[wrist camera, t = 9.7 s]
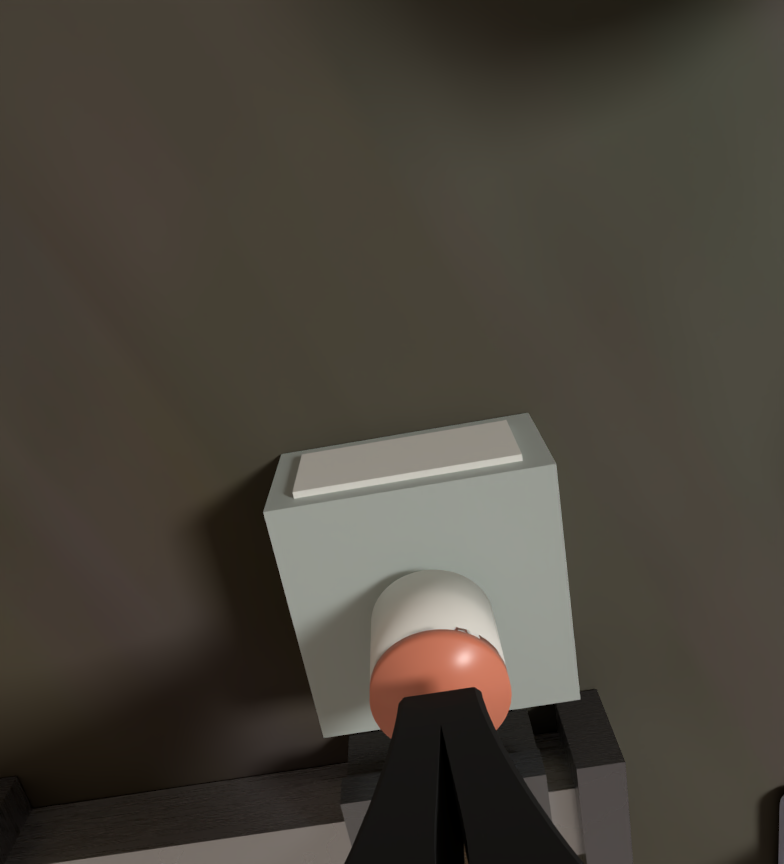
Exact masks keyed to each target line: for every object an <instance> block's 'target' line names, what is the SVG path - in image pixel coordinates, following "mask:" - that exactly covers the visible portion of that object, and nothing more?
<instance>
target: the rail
mask: <svg viewBox="0 0 784 864" xmlns="http://www.w3.org/2000/svg"><path fill="white" fill-rule="evenodd" d="M554 704H555V712H556V720H557V729H558V732H552V733H545V734H538V735H534V739H535V742H536V746H537V749H539V750H540V753H541V757H542V761H543V765H544V769H545V773H546V778H547V786H548V793H549V801H550V809H551V816H552V822H553V824H554V825H555V827H556V828H557V829H558V831H559V832H560V833H561V835H562V836H563V837H564V839H565V840H566V841H567V843H568V844H569V845H570V847H571V848H572V849H573V850H574V852H575V853H576V854H577V855H578V857H579V858H580V859H581V860H582V862H583V863H584V864H633V855H632V842H631V829H630V817H629V804H628V791H627V778H626V766H625V760H624V758H623V755H622V753H621V750H620V748H619V745H618V743H617V740H616V738H615V735H614V732H613V730H612V727H611V725H610V722H609V720H608V717H607V715H606V712H605V710H604V707H603V705H602V702H601V700H600V697H599V694H598V692H597V689H595V690H589V691H582V692H580V700H574V701H568V702H561V703H554ZM347 766H348V763H342V764H335V765H328V766H321V767H314V768H308V769H301V770H294V771H287V772H281V773H274V774H267V775H260V776H253V777H247V778H240V779H233V780H226V781H219V782H213V783H206V784H199V785H192V786H186V787H179V788H172V789H165V790H158V791H152V792H145V793H138V794H131V795H124V796H118V797H111V798H104V799H97V800H91V801H84V802H77V803H70V804H63V805H57V806H50V807H43V808H36V809H32V807H31V805H30V803H29V800H28V798H27V796H26V794H25V792H24V790H23V788H22V786H21V784H20V781H19V779H18V777H17V776H15V777H8V778H1V779H0V864H344V863H345V861H346V859H347V857H348V854H349V852H350V850H351V848H352V846H351V843H350V839H349V835H348V832H347V828H346V824H345V821H344V817H343V813H342V809H341V806H340V799H341V783H342V778H346V777H347Z"/></svg>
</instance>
